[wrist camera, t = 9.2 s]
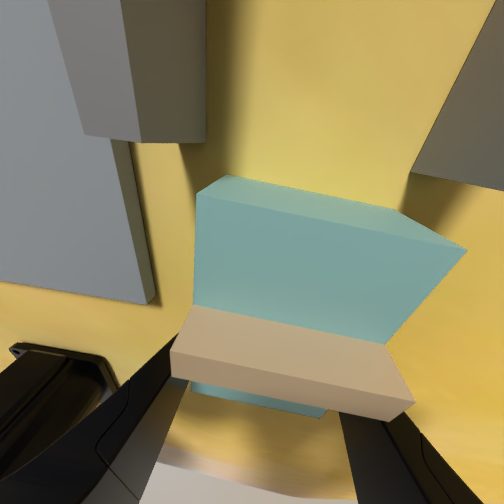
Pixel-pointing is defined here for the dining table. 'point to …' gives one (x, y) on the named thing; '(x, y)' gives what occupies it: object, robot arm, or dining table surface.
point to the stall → (194, 83)
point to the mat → (61, 176)
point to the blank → (303, 299)
